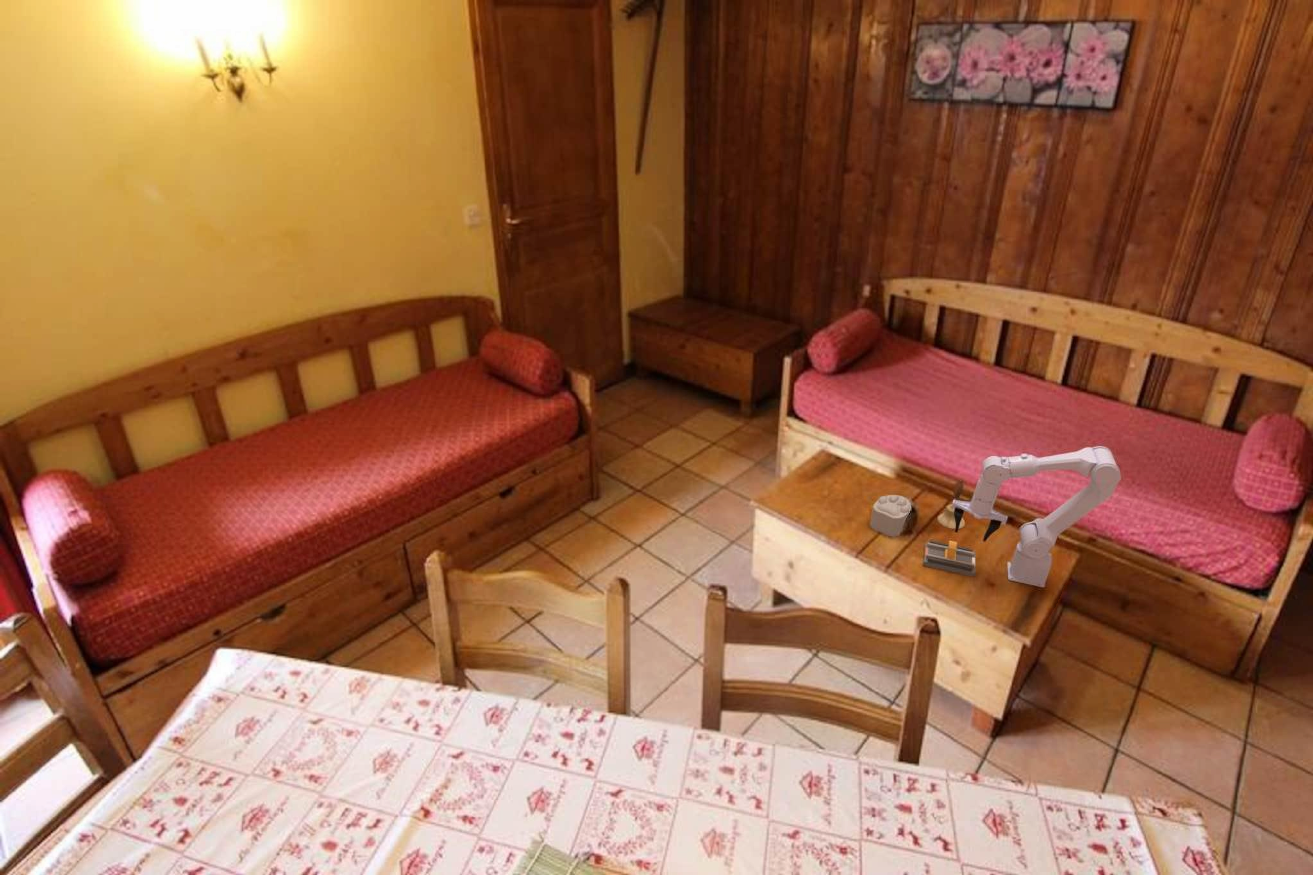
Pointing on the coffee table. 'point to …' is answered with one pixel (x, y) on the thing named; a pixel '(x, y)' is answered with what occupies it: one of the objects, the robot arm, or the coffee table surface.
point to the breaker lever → (951, 550)
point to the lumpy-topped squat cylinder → (890, 514)
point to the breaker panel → (937, 560)
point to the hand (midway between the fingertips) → (970, 535)
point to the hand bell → (948, 516)
